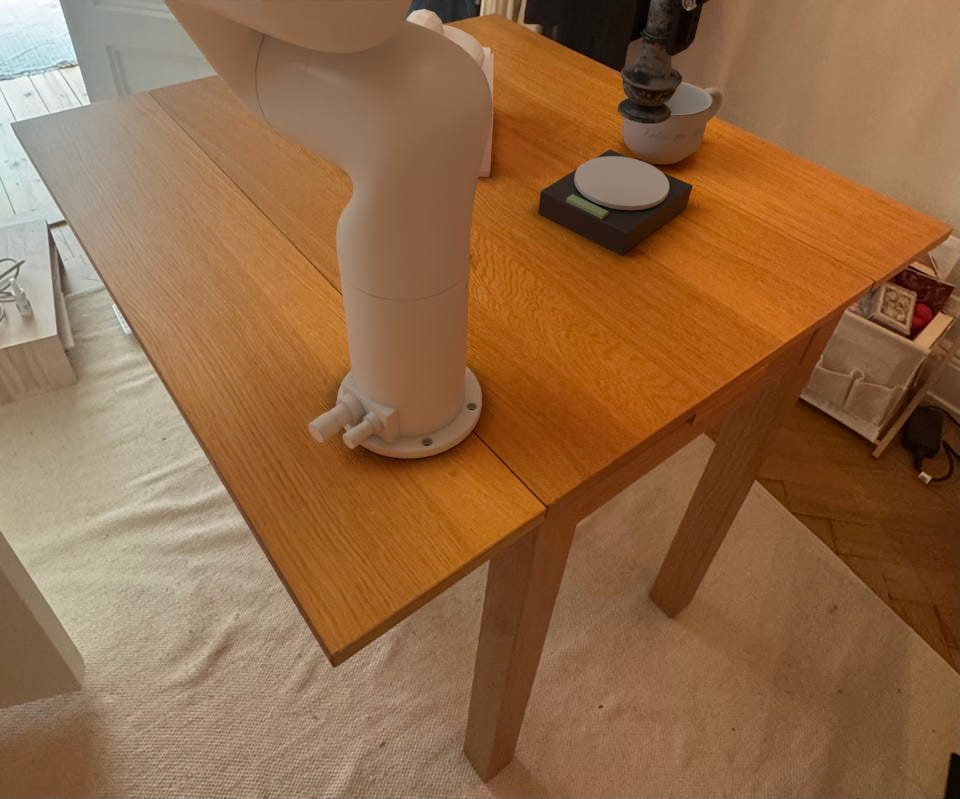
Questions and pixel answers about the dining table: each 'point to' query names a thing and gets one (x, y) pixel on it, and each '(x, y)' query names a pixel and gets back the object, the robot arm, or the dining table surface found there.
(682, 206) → the scale
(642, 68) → the dark grey finial
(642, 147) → the teacup
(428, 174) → the robot arm
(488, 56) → the butter dish
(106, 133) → the dining table surface
